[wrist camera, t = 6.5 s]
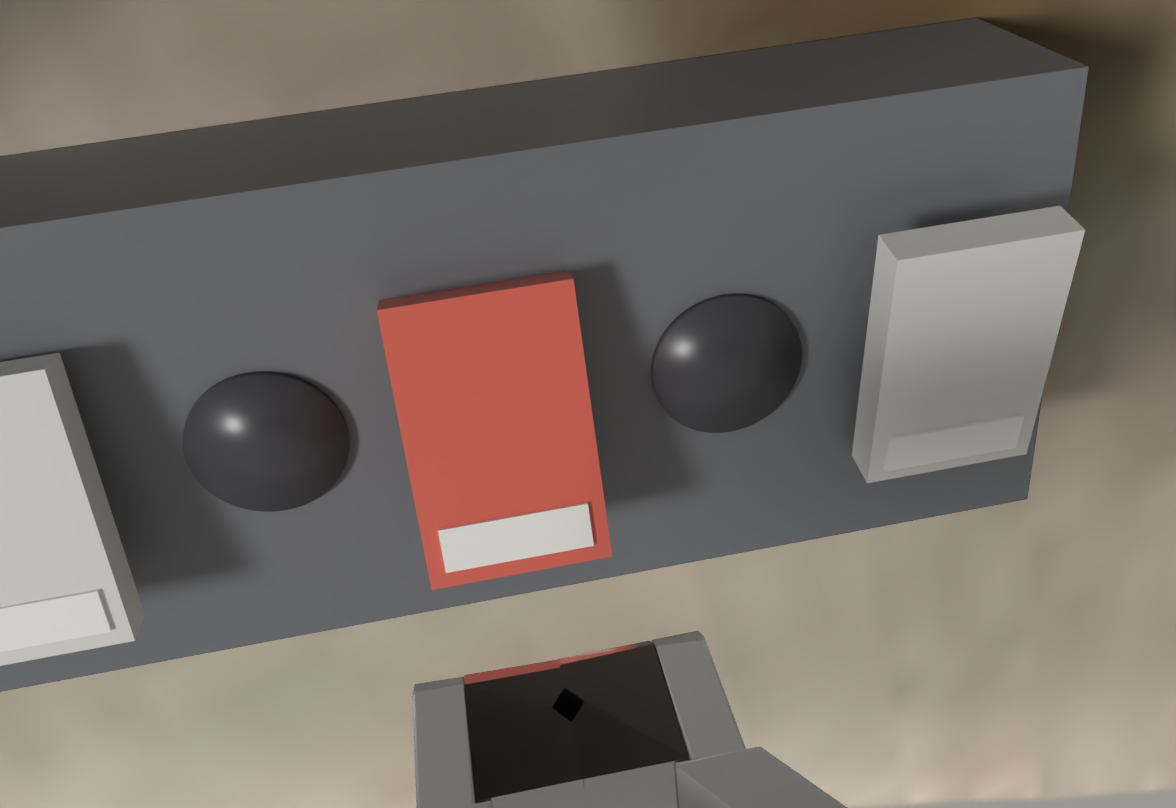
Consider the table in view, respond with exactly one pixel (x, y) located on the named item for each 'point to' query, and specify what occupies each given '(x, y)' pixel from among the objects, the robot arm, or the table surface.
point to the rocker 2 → (961, 340)
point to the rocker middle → (497, 427)
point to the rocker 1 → (55, 525)
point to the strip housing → (497, 253)
